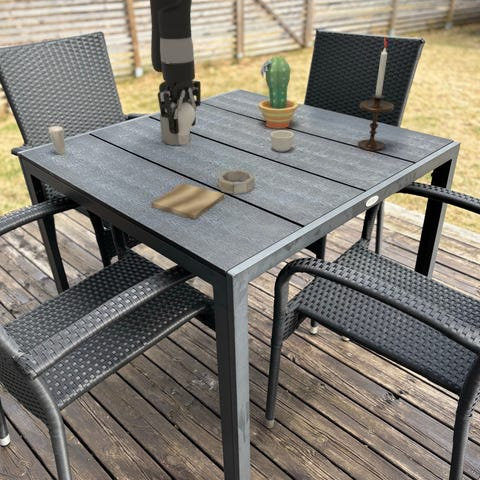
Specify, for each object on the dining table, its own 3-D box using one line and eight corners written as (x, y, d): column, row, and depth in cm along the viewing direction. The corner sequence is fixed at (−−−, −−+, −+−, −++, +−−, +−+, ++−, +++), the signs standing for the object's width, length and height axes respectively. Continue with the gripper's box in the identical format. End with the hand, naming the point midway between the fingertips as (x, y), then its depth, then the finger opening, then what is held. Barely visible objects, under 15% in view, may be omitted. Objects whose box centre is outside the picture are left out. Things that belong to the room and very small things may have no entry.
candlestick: (348, 143, 162) (361, 35, 144) (374, 139, 166) (389, 33, 147) (367, 154, 154) (383, 40, 135) (394, 149, 157) (413, 37, 139)
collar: (212, 189, 132) (212, 179, 131) (230, 176, 140) (230, 167, 138) (242, 196, 128) (242, 186, 126) (259, 183, 135) (259, 173, 134)
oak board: (151, 206, 124) (151, 202, 123) (183, 187, 134) (183, 183, 133) (194, 219, 117) (194, 215, 117) (224, 197, 128) (224, 193, 127)
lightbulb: (201, 142, 118) (199, 99, 113) (189, 151, 114) (185, 106, 108) (180, 139, 121) (176, 96, 115) (167, 147, 116) (162, 103, 110)
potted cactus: (271, 116, 190) (273, 51, 177) (304, 123, 183) (308, 55, 169) (250, 126, 180) (249, 58, 167) (284, 133, 172) (286, 63, 159)
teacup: (290, 154, 154) (291, 138, 152) (268, 152, 156) (268, 136, 154) (296, 144, 163) (296, 129, 160) (274, 142, 164) (275, 127, 162)
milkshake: (72, 151, 159) (66, 123, 154) (58, 156, 156) (51, 127, 150) (65, 148, 162) (59, 120, 156) (51, 153, 158) (44, 124, 153)
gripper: (183, 51, 113) (188, 119, 122) (144, 62, 103) (152, 135, 111) (208, 54, 110) (211, 123, 119) (171, 65, 99) (177, 140, 108)
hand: (183, 129), depth 115 cm, fingers closed on lightbulb, 6 cm apart
